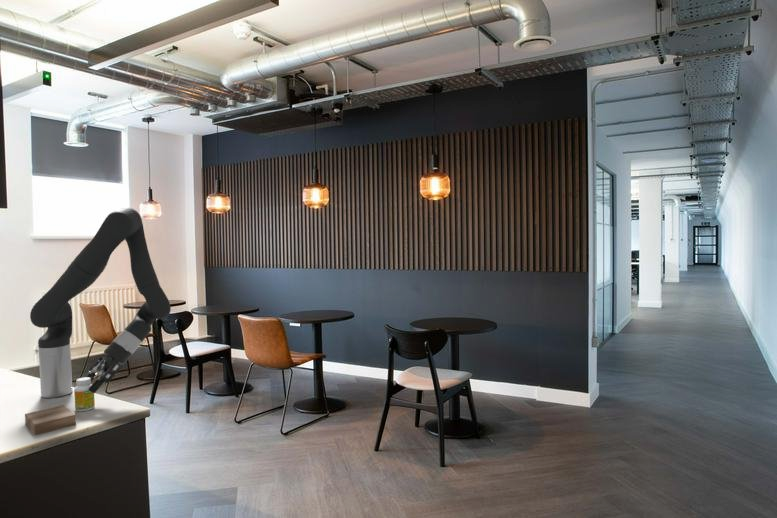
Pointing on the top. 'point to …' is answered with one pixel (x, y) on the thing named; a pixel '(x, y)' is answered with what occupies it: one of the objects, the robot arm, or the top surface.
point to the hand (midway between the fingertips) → (86, 388)
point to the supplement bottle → (83, 395)
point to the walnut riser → (50, 419)
